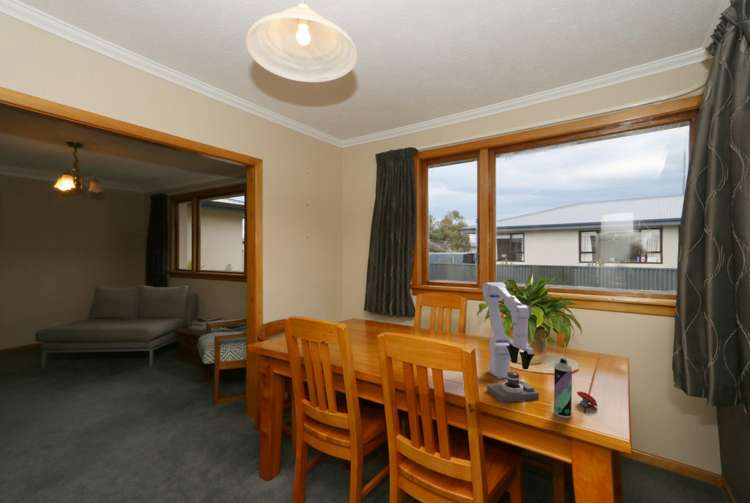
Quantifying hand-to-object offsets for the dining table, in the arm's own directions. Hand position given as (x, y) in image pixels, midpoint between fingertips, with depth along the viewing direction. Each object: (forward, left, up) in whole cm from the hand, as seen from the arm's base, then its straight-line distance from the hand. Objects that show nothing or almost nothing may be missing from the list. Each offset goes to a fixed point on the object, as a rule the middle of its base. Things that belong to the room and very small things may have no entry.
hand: (519, 365), depth 141 cm
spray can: (+23, +1, -10) cm, 25 cm away
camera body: (+5, -7, -10) cm, 13 cm away
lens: (+5, -6, -7) cm, 11 cm away
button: (+19, +16, -10) cm, 26 cm away
